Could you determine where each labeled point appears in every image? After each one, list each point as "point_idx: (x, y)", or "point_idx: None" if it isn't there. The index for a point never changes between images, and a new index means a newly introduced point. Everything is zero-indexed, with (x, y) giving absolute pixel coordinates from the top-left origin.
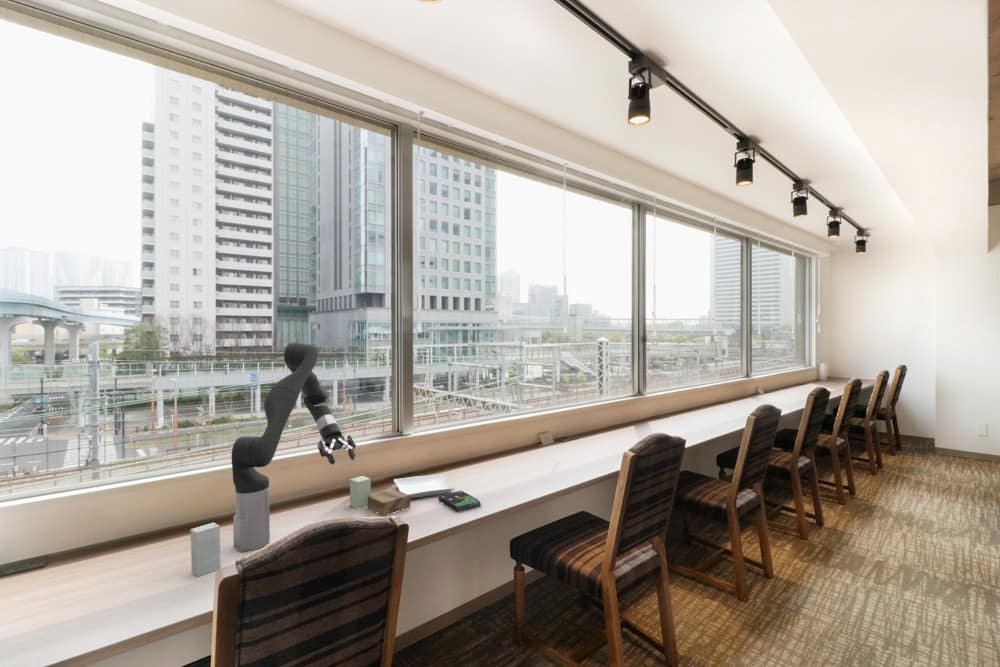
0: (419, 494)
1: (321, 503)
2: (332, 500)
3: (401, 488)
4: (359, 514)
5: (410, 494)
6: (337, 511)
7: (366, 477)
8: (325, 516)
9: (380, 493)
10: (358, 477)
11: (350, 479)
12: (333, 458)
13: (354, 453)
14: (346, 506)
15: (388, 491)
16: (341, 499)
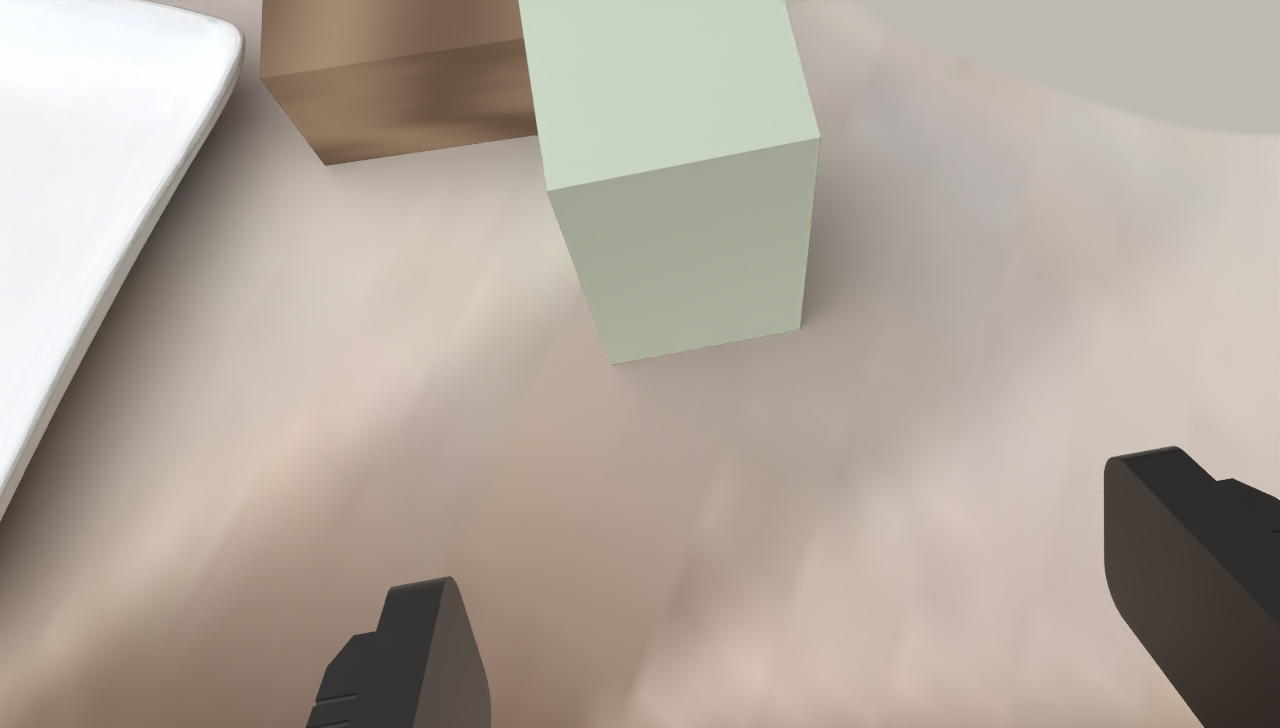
0: (71, 13)
1: (1124, 684)
2: (943, 704)
3: (29, 397)
4: (807, 17)
5: (162, 4)
6: (995, 238)
7: (538, 62)
8: (1164, 171)
9: (478, 14)
10: (647, 144)
11: (813, 117)
12: (1191, 499)
13: (312, 717)
14: (847, 333)
15: (362, 27)
16: (815, 653)
